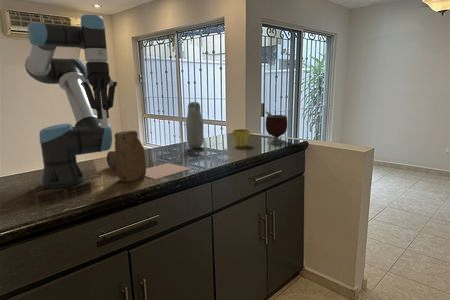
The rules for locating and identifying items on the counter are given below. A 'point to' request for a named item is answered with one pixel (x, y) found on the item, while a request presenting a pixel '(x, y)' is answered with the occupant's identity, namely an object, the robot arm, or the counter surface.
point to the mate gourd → (276, 127)
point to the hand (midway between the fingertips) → (104, 127)
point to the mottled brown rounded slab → (111, 160)
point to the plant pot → (241, 137)
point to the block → (129, 156)
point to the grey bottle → (194, 126)
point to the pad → (164, 170)
